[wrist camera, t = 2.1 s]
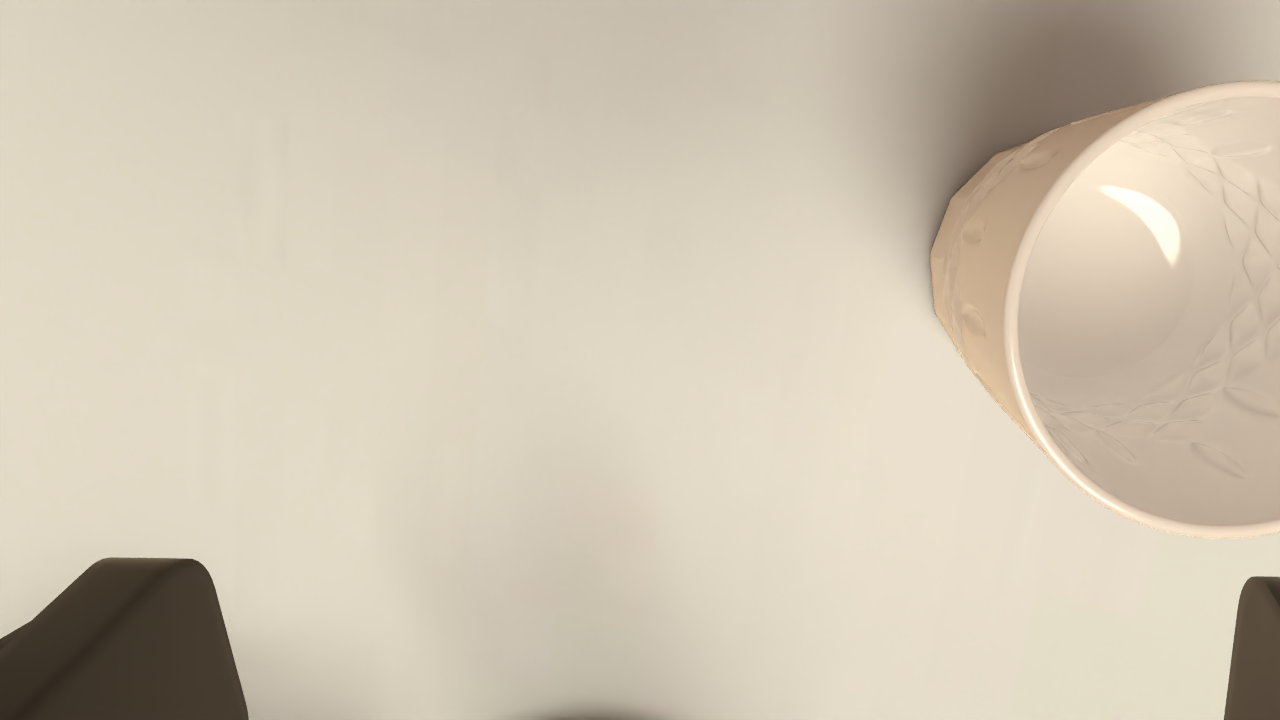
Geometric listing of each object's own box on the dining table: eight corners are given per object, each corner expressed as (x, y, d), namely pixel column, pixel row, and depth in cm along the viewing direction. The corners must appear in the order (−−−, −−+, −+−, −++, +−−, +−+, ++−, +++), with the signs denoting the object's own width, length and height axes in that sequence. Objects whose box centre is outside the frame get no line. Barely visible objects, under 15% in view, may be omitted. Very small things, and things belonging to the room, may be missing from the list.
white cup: (1147, 458, 30) (1361, 599, 20) (861, 361, 30) (936, 456, 20) (1270, 167, 29) (1563, 168, 19) (971, 67, 29) (1110, 16, 19)
